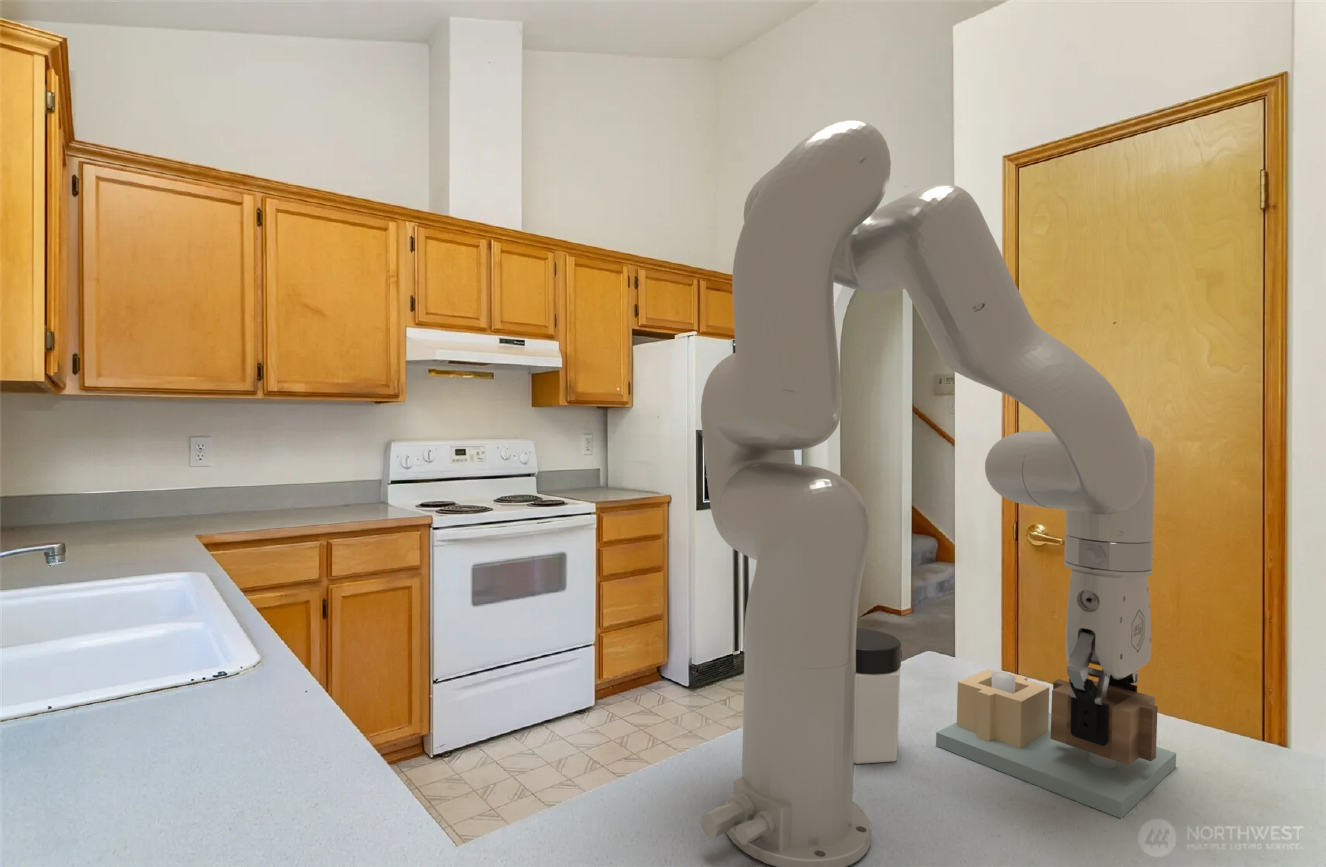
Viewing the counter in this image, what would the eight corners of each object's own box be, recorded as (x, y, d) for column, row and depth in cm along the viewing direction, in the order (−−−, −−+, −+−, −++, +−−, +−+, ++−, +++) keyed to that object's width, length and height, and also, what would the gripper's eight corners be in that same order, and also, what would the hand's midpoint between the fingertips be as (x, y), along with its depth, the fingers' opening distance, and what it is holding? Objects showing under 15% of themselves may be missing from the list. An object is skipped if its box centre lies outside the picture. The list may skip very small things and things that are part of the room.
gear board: (1121, 818, 63) (1123, 736, 63) (936, 745, 77) (937, 678, 77) (1175, 767, 73) (1177, 696, 73) (1003, 710, 87) (1004, 651, 87)
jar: (917, 751, 76) (920, 641, 76) (874, 773, 71) (876, 656, 70) (848, 723, 83) (850, 622, 83) (804, 741, 78) (806, 634, 77)
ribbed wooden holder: (1141, 769, 65) (1142, 716, 65) (1040, 735, 72) (1041, 687, 72) (1165, 750, 70) (1166, 700, 70) (1067, 719, 77) (1069, 674, 77)
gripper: (1118, 572, 62) (1114, 770, 62) (1178, 551, 73) (1175, 719, 73) (1031, 559, 68) (1027, 740, 68) (1098, 541, 79) (1095, 697, 79)
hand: (1104, 728), depth 71 cm, fingers closed on ribbed wooden holder, 7 cm apart
